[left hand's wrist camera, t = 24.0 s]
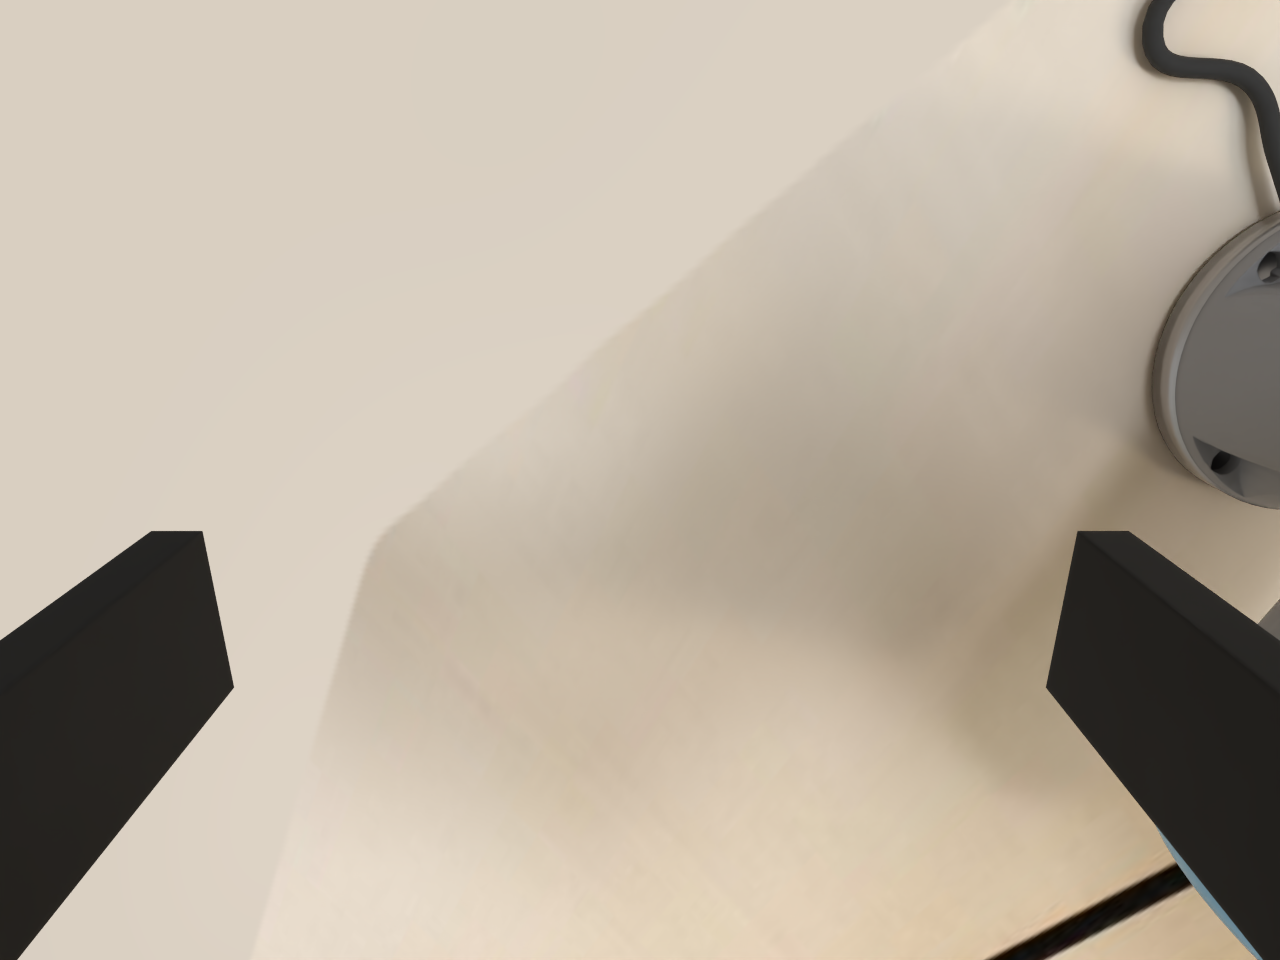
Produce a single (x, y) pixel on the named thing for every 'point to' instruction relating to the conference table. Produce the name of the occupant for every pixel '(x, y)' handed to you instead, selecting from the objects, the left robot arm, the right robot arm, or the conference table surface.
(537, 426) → the conference table surface
